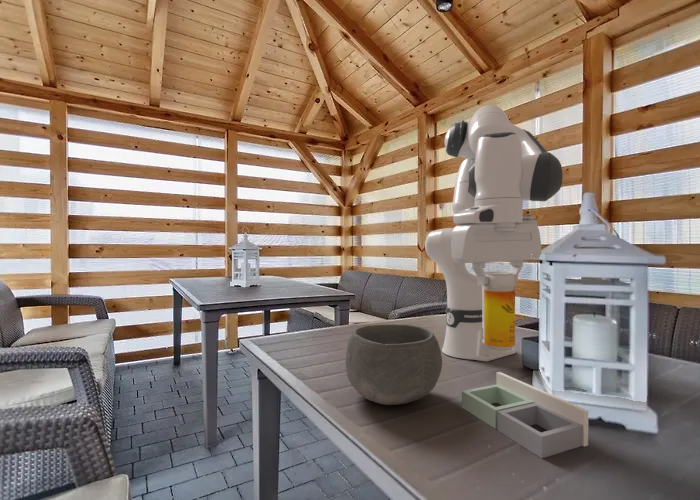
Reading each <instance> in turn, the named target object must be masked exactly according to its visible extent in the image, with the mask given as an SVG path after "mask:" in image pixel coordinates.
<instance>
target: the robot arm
mask: <svg viewBox="0 0 700 500" xmlns="http://www.w3.org/2000/svg"><path fill="white" fill-rule="evenodd" d="M444 148H445V152H446V154H447V155H448V156H451V157H453V158H458V157H459V158H462V159H464V160H463V161H462V162H461V164H460V165H459V168H458V172H457V174H456V178H455V179H456V180H455V184H454V190H453V198H452V206H451V207H452V208H451V209H452V212H453V213H454V215H453V217H452V220H453V224H454V225H455V226H454V227H445V228H439V229H435V230H431V231H430V232H429V233H428V235H427V236H426V238H425V241H424V249H425V250H424V251H425V253H426V255H427V256H428V257H429V259H430V260H432V261H433V262H434V263H435V264H436V265H437V267H439V270H440V271H441V272H442V275H443V277H444V279H445V285H446V297H447V298H446V303H447V306H446V307H445V322H446V326H445V327H446V328H445V337H444V341H443V344H442V345H443V346H442V349H441V353H444V355H446V356H450V357H453V358H456V359H457V358H458V359H463V360H473V361H475V360H476V361H480V362H489V361H493V360H494V361H495V360H497V359H500V358H501V359H502V358H503V357H504V358H505V357H507V356H510V355H514V354H516V349H514V347H512V349H511V350H507V351H498V350H492V349H489V348H487V347H486V346H485V344H484V343H483V342H482V286H484V285H489V276H486V275H485V272H486V271H485V270H484V269H486V264H491V263H492V264H493V263H499V262H509V265H510V269H509V272H511V273H513V276H514V278H515V284H517V283H519V275H520V272H521V270H522V268H523V266H524V261H528V260H529V261H531V260H532V261H533V260H539V259H540V258H541V255H542V239H541V233H540V229H539V226H538V225H539V224H538V221H537V220H536V218H535V217H534V216H533V215H532V214H525V215H524V214H523V203H524V202H523V201H531V202H547V201H548V200H551V198H553V197H554V196H555V195H556V194H557V193H558V192H559V191H560V190H561V188H562V184H563V174H564V173H563V168H562V164H561V162H560V160H559V159H558V158H557V157H556V156H555V155H554V154H552V153H551V152H548V151H547V150H546V149H545V147H544V146H543V145H542V144H541V142H540V141H538V139H537V138H536V137H535V136H534V135H533V134H532V132H530V131H528V130H526V129H524V128H521V127H519V126H517V125H515V124H513V123H512V122H510V119H509V117H508V115H507V114H506V112H505V111H504V110H503V108H500V107H499V106H497V105H495V104H487V105H484V106H481V107H480V108H478V109H477V110H476V111H475V112H474V113H473V115H472V116H471V119H470V121H465V120H461V121H460V122H459V121H458V122H455V123H453V124H452V125H450V126H449V128H448V129H447V131H446V134H445V136H444ZM531 254H532V255H531ZM531 257H532V258H531ZM534 258H535V259H534ZM466 264H471V266H472V267H471V268H472V271H473V272H474V274H475V275H474V274H473V273H471V272H469V270H468V269H467V267H466Z"/></svg>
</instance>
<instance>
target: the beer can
mask: <svg viewBox="0 0 700 500" xmlns="http://www.w3.org/2000/svg"><path fill="white" fill-rule="evenodd" d="M484 272H485V275H486V276H489V285H484V286H482V342H483V343H484V344H485V346H486V347H487V348H489V349H492V350H498V351H507V350H511V349H512V348H514V346H515V345H516V283H515V278H514V276H513V273H511V272H510V271H484Z"/></svg>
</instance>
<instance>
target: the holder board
mask: <svg viewBox="0 0 700 500" xmlns="http://www.w3.org/2000/svg"><path fill="white" fill-rule="evenodd" d="M495 373H496V376H495V379H496V380H495V381H496V383H495V384H491V385H488V386H481V387H476V388H475V387H474V388H471V389H465V390H461V408H462V409H463V410H465V411H467V412H468V413H470V414H471V415H473V416H474V417H476V418H477V419H479V420H480V421H482V422H483V423H485V424H487V425H489V426H490V427H491V428H493V429H495V430H496V429H497V430H496V431H498V432H499V433H501V434H502V435H504V436H506V437H507V438H508V439H510V440H512V441H514V442H515V443H516V444H518V445H519V446H522V447H523V448H524V449H525V450H527V451H529V452H530V453H532V454H534V455H535V456H537V457H539V458H540V459H545V458H548V457H550V456H554V455H558V454H561V453H564V452H567V451H570V450H573V449H577V448H579V447H580V448H581V447H588V446H589V410H588V409H585V408H583V406H582V407H581V406H579V405H577V404H574V403H572V402H570V401H567V400H566V399H563V398H561V397H558V396H556V395H554V394H552V393H549V392H547V391H546V390H545V391H544V390H542V389H540V388H537V387H536V386H533V385H531V384H529V383H527V382H524V381H523V380H522V381H521V380H519V379H517V378H515V377H513V376H511V375H508V374H505V373H504V372H501V371H498V372H495ZM493 404H499V406H494V405H493ZM533 425H537V426H538V427H541V428H542V429H545V431H543V432H542V431H538V430H537V429H535V428H533V427H532V426H533Z"/></svg>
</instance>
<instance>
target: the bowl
mask: <svg viewBox="0 0 700 500" xmlns="http://www.w3.org/2000/svg"><path fill="white" fill-rule="evenodd" d="M442 368H443V356H442V350H441V348H440V344H439V341H438V339H437V338H436V336H435V334H434V333H433V331H432V330H431V329H429V328H426V327H422V326H419V325H412V324H398V323H397V324H393V323H392V324H391V323H390V324H389V323H388V324H387V323H386V324H369V325H368V324H367V325H361V326H359V327H357V328H355V329H354V330H353V331H352V332H351V335H350V337H349V340H348V342H347V346H346V352H345V371H346V377H347V378H348V381H349V383H350V384H351V387H352V388H353V389H354V390H355V391H356V392H357V393H358V394H359V395H361V396H362V397H363V398H365V399H366V400H368V401H371V402H374V403H377V404H379V405H383V406H384V405H385V406H394V405H395V406H396V405H397V406H398V405H406V404H408V403H411V402H412V403H413V402H414V401H417V400H419V399H422V398H423V397H425V396H427V395H428V394H429V393H431V391H433V389H434V388H435V387H436V386H437V382H438V381H439V378H440V375H441V373H442Z"/></svg>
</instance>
